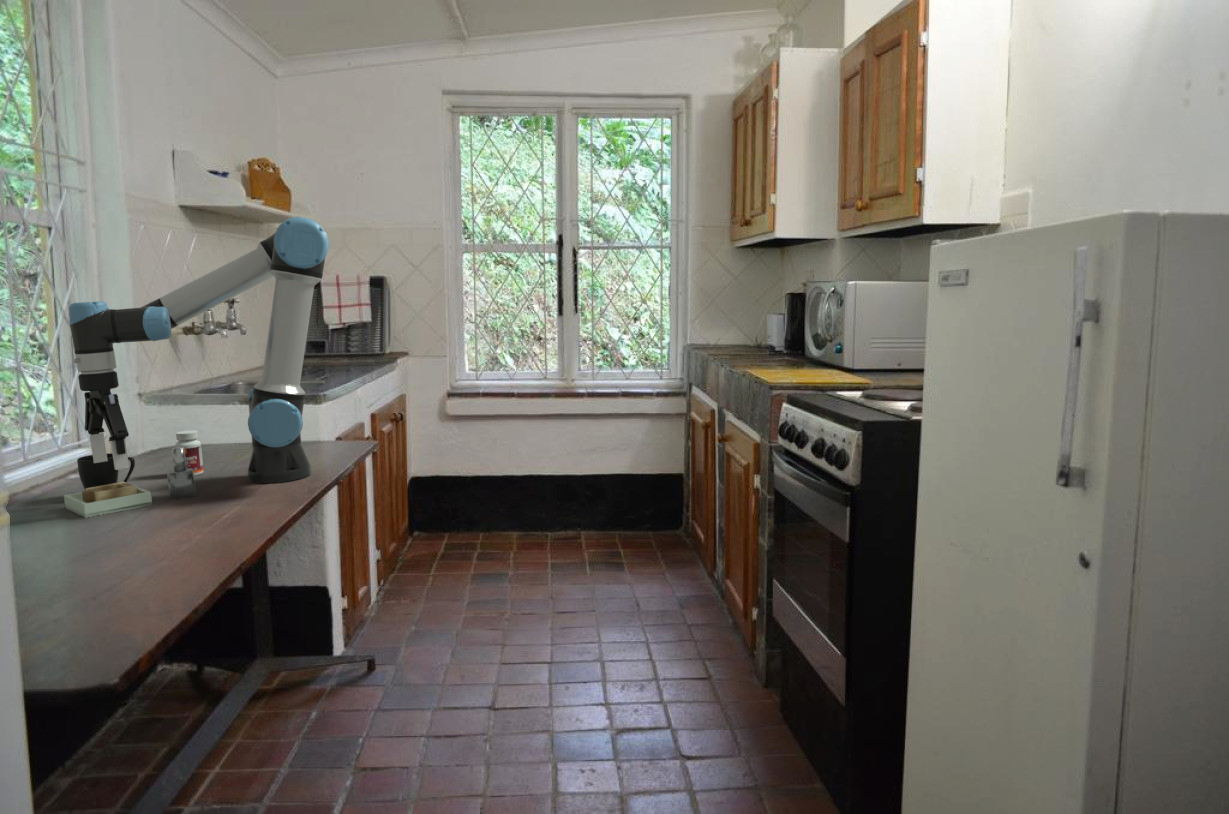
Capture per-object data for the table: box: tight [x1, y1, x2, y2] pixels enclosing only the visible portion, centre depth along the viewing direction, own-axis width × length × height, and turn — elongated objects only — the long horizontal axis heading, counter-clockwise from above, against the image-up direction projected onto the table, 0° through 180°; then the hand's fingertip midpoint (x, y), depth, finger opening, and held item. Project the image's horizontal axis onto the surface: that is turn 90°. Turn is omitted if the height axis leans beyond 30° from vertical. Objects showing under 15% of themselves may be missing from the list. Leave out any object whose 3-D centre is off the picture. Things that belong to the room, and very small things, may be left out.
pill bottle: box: [174, 429, 204, 477], centre depth 231 cm, size 6×6×11 cm
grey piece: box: [166, 447, 197, 500], centre depth 207 cm, size 6×6×12 cm
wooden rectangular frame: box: [81, 481, 138, 503], centre depth 199 cm, size 10×8×4 cm
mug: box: [76, 453, 136, 491], centre depth 210 cm, size 8×12×10 cm
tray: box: [63, 486, 153, 519], centre depth 199 cm, size 14×14×3 cm
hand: (111, 465), depth 199 cm, fingers open, 13 cm apart
